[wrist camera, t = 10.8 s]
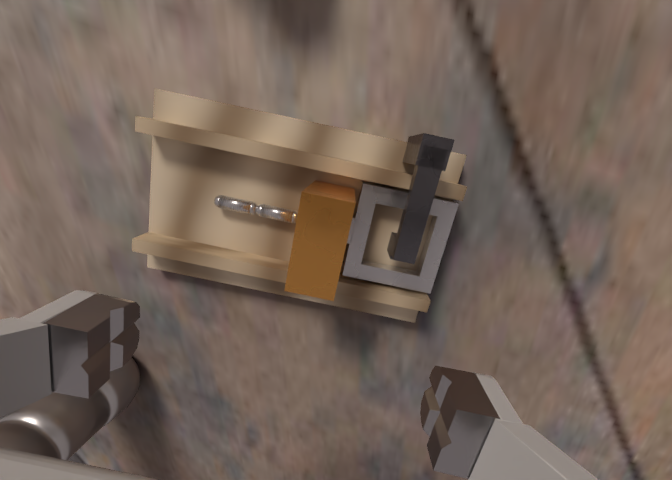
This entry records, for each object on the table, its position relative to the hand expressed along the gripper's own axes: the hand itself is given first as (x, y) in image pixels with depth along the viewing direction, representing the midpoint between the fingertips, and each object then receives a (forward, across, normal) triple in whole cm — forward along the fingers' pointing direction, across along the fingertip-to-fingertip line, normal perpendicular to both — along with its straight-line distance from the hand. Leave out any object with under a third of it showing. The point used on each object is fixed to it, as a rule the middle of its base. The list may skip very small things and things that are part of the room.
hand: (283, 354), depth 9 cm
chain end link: (+17, 0, 0) cm, 17 cm away
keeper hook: (+17, -5, -3) cm, 18 cm away
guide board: (+18, +3, 0) cm, 18 cm away
